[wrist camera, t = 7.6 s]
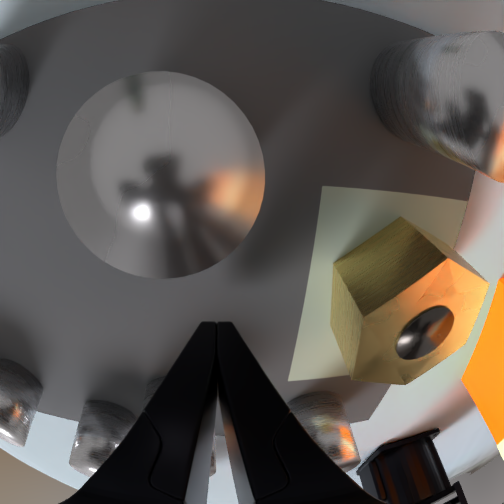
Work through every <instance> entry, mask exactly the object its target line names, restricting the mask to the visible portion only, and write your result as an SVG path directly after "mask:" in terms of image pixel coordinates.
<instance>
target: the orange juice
mask: <svg viewBox="0 0 504 504" xmlns="http://www.w3.org/2000/svg"><path fill="white" fill-rule="evenodd" d="M461 380H462V381H463V383H464V385H465V386H466V388H467V390H468V392H469V393H470V395H471V397H472V398H473V400H474V402H475V404H476V406H477V407H478V409H479V411H480V413H481V415H482V416H483V418H484V420H485V422H486V424H487V426H488V428H489V430H490V432H491V433H492V435H493V437H494V439H495V441H496V443H497V447H498V449H499V452H500V454H501V456H502V458H503V460H504V278H502V279H499V281H498V284H497V288H496V291H495V295H494V298H493V301H492V304H491V307H490V310H489V313H488V316H487V319H486V322H485V325H484V327H483V330H482V333H481V335H480V338H479V340H478V343H477V345H476V348H475V350H474V353H473V355H472V357H471V360H470V362H469V364H468V366H467V368H466V371H465V373H464V375H463V377H462V379H461Z"/></svg>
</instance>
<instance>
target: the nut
mask: <svg viewBox="0 0 504 504" xmlns="http://www.w3.org/2000/svg"><path fill="white" fill-rule="evenodd" d="M488 287H489V283H488V282H487V281H486V280H485V279H484V278H483V277H482V276H481V275H480V274H479V273H478V272H477V271H476V270H475V269H474V268H473V267H472V266H471V265H470V264H469V263H468V262H466V261H465V260H464V259H463V258H462V257H461V256H460V255H459V254H458V253H457V252H455V251H454V250H453V249H452V248H451V247H450V246H449V245H448V244H446V243H445V242H443V241H441V240H440V239H438V238H437V237H435V236H433V235H432V234H430V233H429V232H427V231H425V230H424V229H422V228H420V227H419V226H417V225H415V224H413V223H412V222H410V221H408V220H407V219H405V218H403V217H401V216H400V217H399V218H397V219H396V220H395V221H393V222H392V223H390V224H389V225H388V226H386V227H385V228H383V229H382V230H380V231H379V232H378V233H376V234H375V235H373V236H372V237H370V238H369V239H368V240H366V241H365V242H363V243H362V244H360V245H359V246H357V247H356V248H354V249H353V250H352V251H350V252H349V253H347V254H346V255H344V256H343V257H341V258H340V259H338V260H337V261H335V262H334V263H333V277H332V298H331V315H330V326H331V329H332V331H333V334H334V336H335V339H336V341H337V344H338V346H339V349H340V351H341V354H342V357H343V359H344V362H345V364H346V367H347V369H348V372H349V375H350V377H351V380H354V381H363V382H373V383H385V384H398V385H406V384H408V383H409V382H411V381H413V380H414V379H416V378H417V377H419V376H421V375H422V374H424V373H425V372H427V371H428V370H430V369H431V368H433V367H434V366H436V365H437V364H438V363H440V362H441V361H443V360H444V359H446V358H447V357H448V356H450V355H451V354H452V353H454V352H455V351H456V350H458V349H459V348H460V347H462V346H463V345H464V344H465V343H466V341H467V339H468V337H469V335H470V332H471V330H472V328H473V326H474V323H475V321H476V318H477V316H478V314H479V311H480V309H481V306H482V303H483V301H484V298H485V296H486V293H487V290H488Z"/></svg>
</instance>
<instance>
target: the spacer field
mask: <svg viewBox="0 0 504 504" xmlns="http://www.w3.org/2000/svg"><path fill="white" fill-rule="evenodd" d="M28 88H29V70H28V64H27V61H26V58H25V56H24V55H23V53H22V52H21V51H20V49H18V48H17V47H15V46H13V45H8V44H0V138H2V137H3V136H5V135H6V134H7V133H8V132H9V131H10V130H11V129H12V128H13V127H14V125H15V124H16V123H17V121H18V119H19V117H20V115H21V113H22V111H23V108H24V106H25V102H26V99H27V95H28ZM370 95H371V100H372V103H373V106H374V109H375V111H376V114H377V116H378V117H379V119H380V121H381V122H382V123H383V125H384V126H385V127H386V128H387V129H388V130H389V132H391V133H392V134H393V135H394V136H396V137H397V138H399V139H401V140H403V141H406V142H408V143H411V144H414V145H416V146H419V147H422V148H424V149H427V150H429V151H432V152H434V153H437V154H439V155H442V156H444V157H447V158H449V159H451V160H453V161H456V162H458V163H460V164H462V165H465V166H467V167H469V168H471V169H473V170H475V171H478V172H480V173H482V174H484V175H486V176H488V177H490V178H492V179H494V180H496V181H498V182H503V183H504V33H501V32H497V31H482V32H467V33H456V34H447V35H439V36H431V37H425V38H418V39H413V40H407V41H402V42H397V43H394V44H391V45H389V46H388V47H386V48H385V49H384V50H382V51H381V53H380V54H379V55H378V56H377V58H376V60H375V62H374V64H373V66H372V70H371V74H370ZM56 179H57V190H58V194H59V199H60V203H61V206H62V209H63V211H64V214H65V216H66V218H67V220H68V222H69V224H70V226H71V228H72V229H73V231H74V232H75V234H76V235H77V237H78V238H79V239H80V240H81V241H82V243H83V244H84V245H85V246H86V247H87V248H88V249H89V250H90V251H91V252H92V253H93V254H95V255H96V256H97V257H99V258H100V259H101V260H103V261H104V262H106V263H108V264H109V265H111V266H113V267H115V268H117V269H119V270H121V271H124V272H126V273H130V274H133V275H136V276H141V277H146V278H156V279H170V278H178V277H185V276H188V275H192V274H195V273H198V272H201V271H203V270H206V269H208V268H210V267H212V266H213V265H215V264H217V263H219V262H220V261H221V260H223V259H224V258H225V257H227V256H228V255H229V254H231V253H232V252H233V251H234V250H235V249H236V248H237V247H238V246H239V245H240V243H241V242H242V241H243V240H244V238H245V237H246V236H247V234H248V233H249V231H250V229H251V228H252V226H253V224H254V222H255V220H256V218H257V215H258V213H259V211H260V207H261V203H262V200H263V194H264V187H265V167H264V160H263V154H262V150H261V147H260V144H259V140H258V138H257V136H256V134H255V131H254V129H253V127H252V125H251V124H250V122H249V121H248V119H247V118H246V116H245V114H244V113H243V112H242V111H241V110H240V108H239V107H238V106H237V105H236V104H235V103H234V102H233V101H232V100H231V99H230V98H229V97H228V96H226V95H225V94H224V93H223V92H221V91H220V90H218V89H217V88H215V87H214V86H212V85H211V84H209V83H207V82H204V81H202V80H200V79H198V78H195V77H192V76H189V75H185V74H181V73H175V72H167V71H151V72H144V73H138V74H133V75H130V76H127V77H124V78H121V79H119V80H117V81H115V82H113V83H111V84H109V85H107V86H105V87H104V88H102V89H101V90H99V91H98V92H96V93H95V94H94V95H93V96H92V97H91V98H90V99H88V100H87V101H86V102H85V103H84V104H83V106H82V107H81V108H80V109H79V110H78V112H77V113H76V114H75V116H74V117H73V119H72V120H71V122H70V124H69V125H68V127H67V130H66V132H65V134H64V136H63V139H62V142H61V145H60V149H59V153H58V159H57V171H56ZM164 377H165V376H163V377H158V378H156V379H153V380H152V381H150V382H149V383H148V384H147V386H146V389H145V395H144V401H143V407H142V412H144V408H145V407H146V405H147V404H148V402H149V401H150V399H151V397H152V396H153V394H154V393H155V391H156V390H157V388H158V387H159V385H160V384H161V382H162V381H163V379H164ZM42 395H43V387H42V385H41V383H40V382H39V381H38V379H37V378H36V377H35V376H34V375H33V374H32V373H31V372H29V371H28V370H27V369H26V368H24V367H23V366H21V365H20V364H18V363H16V362H14V361H12V360H9V359H4V358H2V359H0V438H1V439H3V440H5V441H7V442H9V443H11V444H13V445H16V446H19V447H24V446H25V442H26V439H27V436H28V433H29V430H30V427H31V424H32V421H33V419H34V416H35V413H36V410H37V408H38V405H39V402H40V400H41V397H42ZM286 404H287V405H288V407H289V408H290V410H291V411H290V412H293V414H294V415H295V416H296V418H297V419H298V421H299V422H300V423H301V425H302V426H303V427H304V429H305V430H306V431H307V432H308V434H309V435H310V436H311V438H312V439H313V440H314V441H315V442H316V443H317V444H318V445H319V446H320V448H321V449H322V450H323V451H324V452H325V453H326V454H327V455H328V456H329V457H330V458H331V459H332V460H333V461H334V462H335V463H336V464H337V465H338V466H339V467H340V468H341V469H342V470H343V471H344V472H345V473H346V472H348V471H350V470H352V469H353V468H355V467H356V466H357V465H359V463H360V462H361V459H360V456H359V453H358V450H357V446H356V443H355V440H354V437H353V433H352V430H351V427H350V424H349V421H348V418H347V415H346V411H345V408H344V405H343V402H342V399H341V397H340V395H338V394H337V393H335V392H331V391H316V392H311V393H307V394H303V395H301V396H298V397H296V398H294V399H292V400H290V401H289V402H287V403H286ZM137 419H138V418H137V417H136V416H135V415H134V414H133V413H132V412H131V411H129V410H128V409H126V408H124V407H122V406H120V405H118V404H115V403H112V402H108V401H104V400H89V401H87V402H85V404H84V407H83V410H82V413H81V417H80V420H79V424H78V428H77V432H76V435H75V439H74V443H73V447H72V451H71V456H70V460H69V464H70V466H71V467H73V468H74V469H75V470H77V471H79V472H80V473H82V474H84V475H87V476H89V477H91V476H92V475H93V474H94V473H95V472H96V471H97V469H98V468H99V467H100V466H101V465H102V464H103V463H104V462H105V460H106V459H107V458H108V457H109V456H110V455H111V454H112V452H113V451H114V450H115V449H116V448H117V446H118V445H119V444H120V443H121V441H122V440H123V439H124V438H125V436H126V435H127V433H128V432H129V431H130V429H131V428H132V426H133V425H134V423H135V422H136V420H137ZM215 472H216V452H215V427H214V436H213V445H212V455H211V464H210V474H209V477H210V476H212V475H214V474H215Z"/></svg>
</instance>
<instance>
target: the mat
mask: <svg viewBox="0 0 504 504" xmlns="http://www.w3.org/2000/svg"><path fill="white" fill-rule="evenodd" d="M431 36H435V35H433V34H430V33H428V32H425V31H423V30H421V29H418V28H416V27H413V26H410V25H408V24H405V23H402V22H399V21H397V20H394V19H391V18H388V17H385V16H381V15H378V14H375V13H372V12H368V11H365V10H361V9H357V8H353V7H349V6H345V5H341V4H336V3H332V2H327V1H322V0H118V1H113V2H109V3H104V4H100V5H96V6H92V7H88V8H84V9H80V10H77V11H73V12H70V13H67V14H64V15H60V16H57V17H54V18H52V19H49V20H46V21H43V22H40V23H38V24H35V25H33V26H30V27H28V28H25V29H23V30H20V31H18V32H16V33H14V34H11V35H9V36H7V37H5V38H3V39H1V40H0V44H8V45H13V46H15V47H17V48H18V49H20V51H21V52H22V53H23V55H24V56H25V58H26V61H27V64H28V70H29V88H28V95H27V99H26V102H25V106H24V108H23V111H22V113H21V115H20V117H19V119H18V121H17V123H16V124H15V125H14V127H13V128H12V129H11V130H10V131H9V132H8V133H7V134H6V135H5V136H3V137H2V138H0V359H2V358H4V359H9V360H12V361H14V362H16V363H18V364H20V365H21V366H23V367H24V368H26V369H27V370H28V371H29V372H31V373H32V374H33V375H34V376H35V377H36V378H37V379H38V381H39V382H40V383H41V385H42V387H43V395H42V397H41V400H40V402H39V405H38V408H37V410H36V411H38V412H42V413H45V414H49V415H53V416H57V417H61V418H65V419H70V420H74V421H79V420H80V417H81V413H82V410H83V407H84V404H85V402H87V401H89V400H104V401H108V402H112V403H115V404H118V405H120V406H122V407H124V408H126V409H128V410H129V411H131V412H132V413H133V414H134V415H135V416H136V417H137V418H138V417H139V416H140V414H141V413H142V407H143V401H144V395H145V389H146V386H147V384H148V383H149V382H150V381H152V380H153V379H156V378H158V377H163V376H166V374H167V373H168V371H169V370H170V368H171V367H172V365H173V364H174V362H175V361H176V359H177V357H178V356H179V354H180V353H181V351H182V350H183V348H184V347H185V345H186V344H187V342H188V341H189V339H190V338H191V336H192V335H193V333H194V331H195V330H196V328H197V327H198V325H199V324H200V323H201V322H202V321H215V322H216V324H217V322H218V321H231V322H233V324H234V325H235V327H236V328H237V330H238V332H239V333H240V335H241V336H242V338H243V339H244V341H245V342H246V344H247V346H248V347H249V349H250V350H251V352H252V353H253V355H254V356H255V358H256V359H257V361H258V362H259V364H260V365H261V367H262V368H263V370H264V371H265V373H266V374H267V376H268V377H269V379H270V380H271V382H272V383H273V385H274V386H275V388H276V389H277V391H278V392H279V394H280V395H281V397H282V398H283V399H284V401H285V402H286V403H287V402H289V401H290V400H292V399H294V398H296V397H298V396H301V395H303V394H307V393H311V392H316V391H331V392H335V393H337V394H338V395H340V397H341V399H342V402H343V405H344V408H345V411H346V415H347V418H348V421H349V424H350V423H355V422H360V421H365V420H369V418H370V417H371V415H372V414H373V412H374V411H375V409H376V408H377V406H378V405H379V403H380V402H381V400H382V398H383V397H384V395H385V394H386V392H387V390H388V389H389V387H390V385H391V384H385V383H373V382H363V381H354V380H351V377H350V375H349V372H348V369H347V367H346V364H345V362H344V359H343V357H342V354H341V351H340V349H339V346H338V344H337V341H336V339H335V336H334V334H333V331H332V329H331V326H330V315H331V298H332V277H333V263H334V262H335V261H337V260H338V259H340V258H341V257H343V256H344V255H346V254H347V253H349V252H350V251H352V250H353V249H354V248H356V247H357V246H359V245H360V244H362V243H363V242H365V241H366V240H368V239H369V238H370V237H372V236H373V235H375V234H376V233H378V232H379V231H380V230H382V229H383V228H385V227H386V226H388V225H389V224H390V223H392V222H393V221H395V220H396V219H397V218H399V217H400V216H401V217H403V218H405V219H407V220H408V221H410V222H412V223H413V224H415V225H417V226H419V227H420V228H422V229H424V230H425V231H427V232H429V233H430V234H432V235H433V236H435V237H437V238H438V239H440V240H441V241H443V242H445V243H446V244H448V245H449V246H450V247H451V248H452V249H453V250H454V247H455V244H456V241H457V238H458V235H459V231H460V228H461V225H462V221H463V218H464V214H465V211H466V207H467V203H468V200H469V196H470V191H471V187H472V183H473V179H474V174H475V170H473V169H471V168H469V167H467V166H465V165H462V164H460V163H458V162H456V161H453V160H451V159H449V158H447V157H444V156H442V155H439V154H437V153H434V152H432V151H429V150H427V149H424V148H422V147H419V146H416V145H414V144H411V143H408V142H406V141H403V140H401V139H399V138H397V137H396V136H394V135H393V134H392V133H391V132H389V130H388V129H387V128H386V127H385V126H384V125H383V123H382V122H381V121H380V119H379V117H378V116H377V114H376V111H375V109H374V106H373V103H372V100H371V95H370V74H371V70H372V66H373V64H374V62H375V60H376V58H377V56H378V55H379V54H380V53H381V51H382V50H384V49H385V48H386V47H388V46H389V45H391V44H394V43H397V42H402V41H407V40H413V39H418V38H425V37H431ZM151 71H167V72H175V73H181V74H185V75H189V76H192V77H195V78H198V79H200V80H202V81H204V82H207V83H209V84H211V85H212V86H214V87H215V88H217V89H218V90H220V91H221V92H223V93H224V94H225V95H226V96H228V97H229V98H230V99H231V100H232V101H233V102H234V103H235V104H236V105H237V106H238V107H239V108H240V110H241V111H242V112H243V113H244V114H245V116H246V118H247V119H248V121H249V122H250V124H251V125H252V127H253V129H254V131H255V134H256V136H257V138H258V140H259V144H260V147H261V150H262V154H263V160H264V167H265V187H264V194H263V200H262V203H261V207H260V211H259V213H258V215H257V218H256V220H255V222H254V224H253V226H252V228H251V229H250V231H249V233H248V234H247V236H246V237H245V238H244V240H243V241H242V242H241V243H240V245H239V246H238V247H237V248H236V249H235V250H234V251H233V252H232V253H231V254H229V255H228V256H227V257H225V258H224V259H223V260H221V261H220V262H219V263H217V264H215V265H213V266H212V267H210V268H208V269H206V270H203V271H201V272H198V273H195V274H192V275H188V276H185V277H178V278H170V279H156V278H146V277H141V276H136V275H133V274H130V273H126V272H124V271H121V270H119V269H117V268H115V267H113V266H111V265H109V264H108V263H106V262H104V261H103V260H101V259H100V258H99V257H97V256H96V255H95V254H93V253H92V252H91V251H90V250H89V249H88V248H87V247H86V246H85V245H84V244H83V243H82V241H81V240H80V239H79V238H78V237H77V235H76V234H75V232H74V231H73V229H72V228H71V226H70V224H69V222H68V220H67V218H66V216H65V214H64V211H63V209H62V206H61V203H60V199H59V194H58V190H57V179H56V171H57V159H58V153H59V149H60V145H61V142H62V139H63V136H64V134H65V132H66V130H67V127H68V125H69V124H70V122H71V120H72V119H73V117H74V116H75V114H76V113H77V112H78V110H79V109H80V108H81V107H82V106H83V104H84V103H85V102H86V101H87V100H88V99H90V98H91V97H92V96H93V95H94V94H95V93H96V92H98V91H99V90H101V89H102V88H104V87H105V86H107V85H109V84H111V83H113V82H115V81H117V80H119V79H121V78H124V77H127V76H130V75H133V74H138V73H144V72H151ZM215 436H225V433H224V428H223V422H222V416H221V411H220V405H219V397H218V398H217V409H216V418H215Z"/></svg>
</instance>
